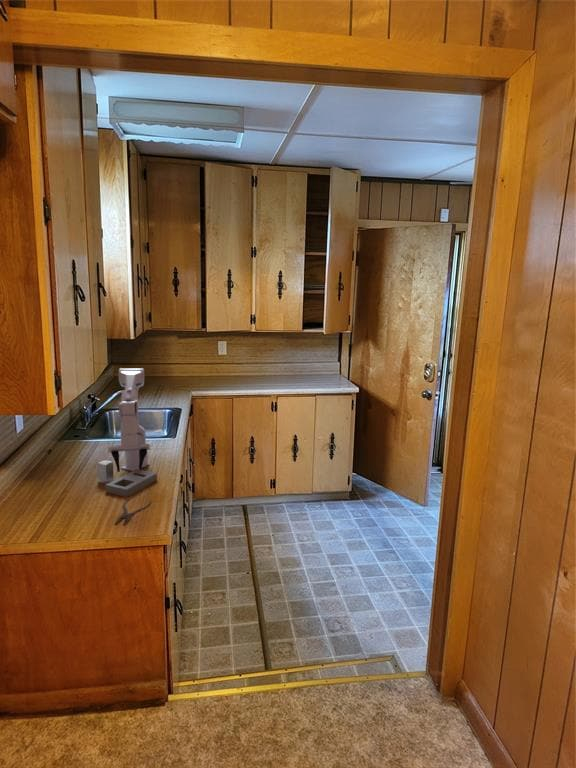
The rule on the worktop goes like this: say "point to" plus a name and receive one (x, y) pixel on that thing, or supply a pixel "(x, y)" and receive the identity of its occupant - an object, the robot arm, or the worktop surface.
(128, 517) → the pliers
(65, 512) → the worktop surface
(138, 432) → the robot arm
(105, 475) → the peg
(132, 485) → the socket plate
